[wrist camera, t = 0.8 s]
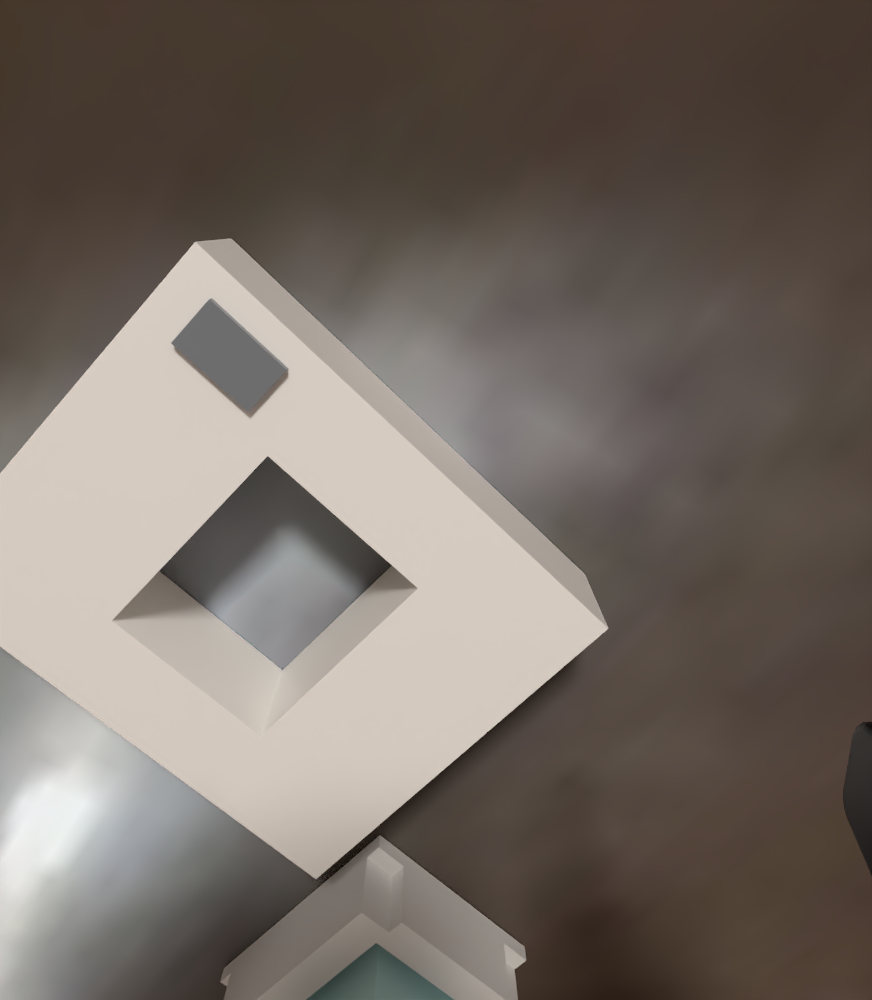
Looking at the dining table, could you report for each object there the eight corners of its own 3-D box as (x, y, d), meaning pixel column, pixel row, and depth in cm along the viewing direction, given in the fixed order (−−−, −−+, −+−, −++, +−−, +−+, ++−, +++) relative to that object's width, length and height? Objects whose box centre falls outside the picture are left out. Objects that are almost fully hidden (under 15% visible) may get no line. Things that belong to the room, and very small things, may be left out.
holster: (524, 946, 26) (534, 1020, 23) (368, 1065, 27) (362, 1146, 25) (379, 835, 24) (374, 902, 22) (224, 968, 26) (203, 1043, 23)
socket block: (584, 574, 21) (609, 632, 18) (329, 800, 24) (314, 885, 21) (231, 238, 19) (192, 242, 16) (-19, 531, 21) (-96, 583, 18)
